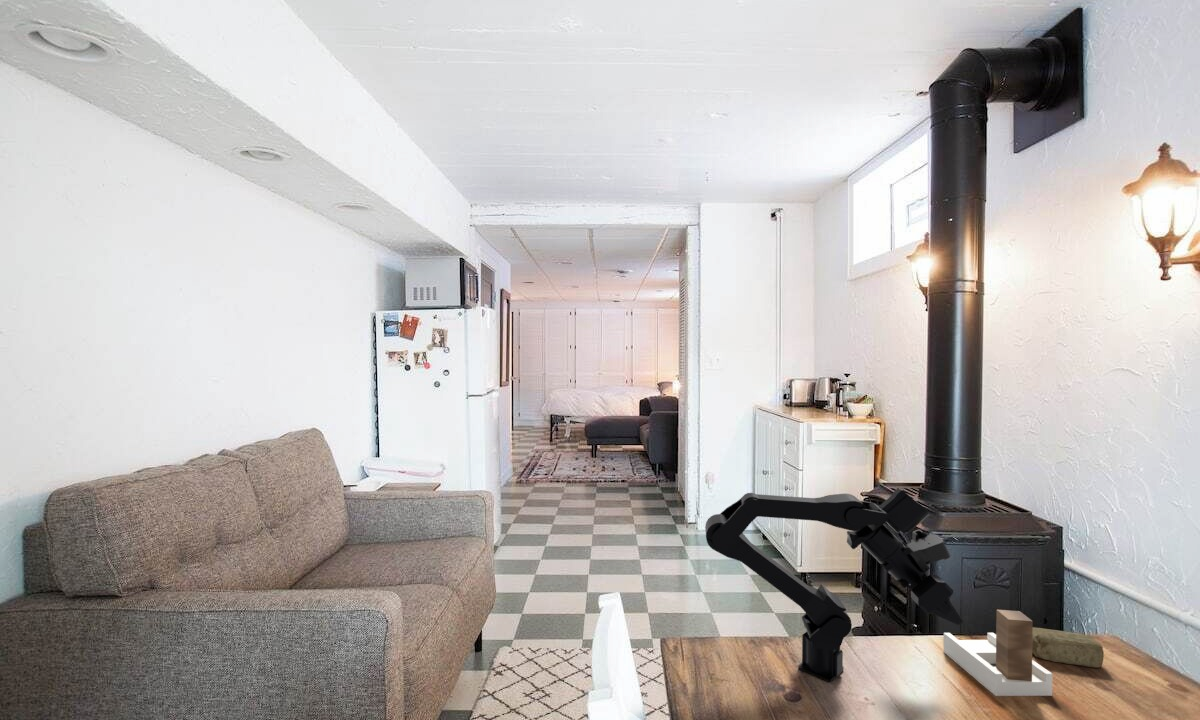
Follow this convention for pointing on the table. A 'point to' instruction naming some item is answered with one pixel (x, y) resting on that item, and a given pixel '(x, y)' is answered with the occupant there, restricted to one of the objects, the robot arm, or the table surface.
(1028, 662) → the walnut block
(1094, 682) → the table surface
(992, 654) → the walled channel
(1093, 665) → the stone block
